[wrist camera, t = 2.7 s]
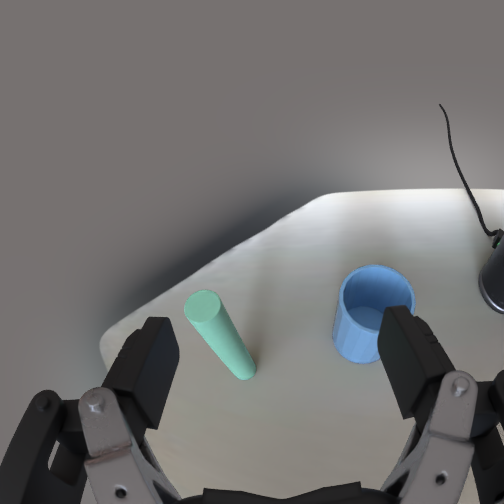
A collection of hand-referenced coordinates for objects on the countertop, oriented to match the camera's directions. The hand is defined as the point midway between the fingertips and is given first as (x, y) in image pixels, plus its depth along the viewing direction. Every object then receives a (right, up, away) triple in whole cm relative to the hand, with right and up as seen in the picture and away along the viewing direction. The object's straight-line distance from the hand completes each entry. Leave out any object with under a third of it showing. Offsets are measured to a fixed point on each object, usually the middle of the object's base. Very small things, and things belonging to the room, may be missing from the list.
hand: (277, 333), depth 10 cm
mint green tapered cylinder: (-2, -11, +22) cm, 24 cm away
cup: (+13, -7, +22) cm, 26 cm away
